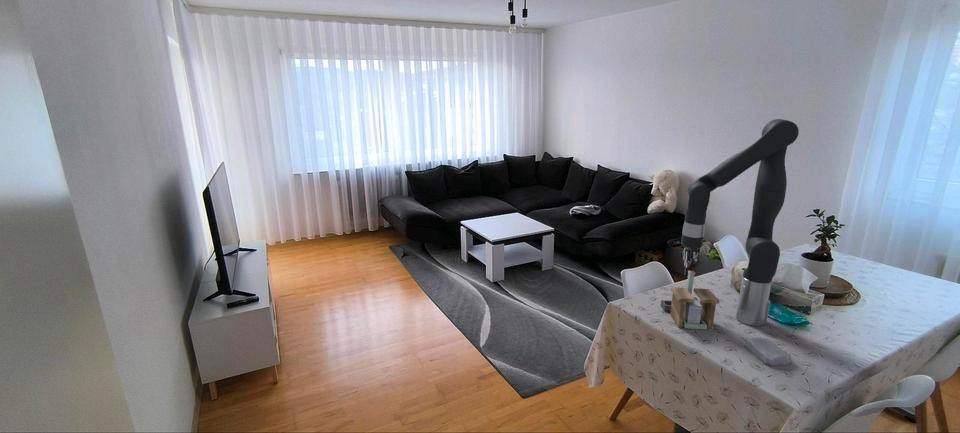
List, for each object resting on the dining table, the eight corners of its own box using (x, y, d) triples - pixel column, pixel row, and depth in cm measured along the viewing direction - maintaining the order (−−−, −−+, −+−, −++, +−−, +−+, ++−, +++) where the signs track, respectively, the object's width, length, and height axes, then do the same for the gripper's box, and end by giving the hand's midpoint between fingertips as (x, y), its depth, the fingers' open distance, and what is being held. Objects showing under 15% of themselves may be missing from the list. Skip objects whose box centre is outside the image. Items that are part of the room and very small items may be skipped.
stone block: (766, 349, 151) (740, 346, 149) (772, 338, 149) (746, 334, 148) (792, 371, 139) (765, 367, 138) (799, 359, 138) (771, 355, 137)
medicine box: (699, 327, 162) (702, 306, 159) (686, 326, 162) (689, 305, 160) (693, 317, 169) (696, 297, 167) (681, 316, 170) (684, 296, 168)
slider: (694, 313, 171) (701, 271, 167) (706, 329, 160) (713, 284, 155) (674, 312, 172) (680, 270, 167) (685, 328, 160) (691, 283, 156)
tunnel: (704, 316, 170) (708, 288, 167) (714, 329, 160) (719, 300, 157) (667, 314, 171) (670, 287, 168) (675, 327, 162) (679, 298, 159)
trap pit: (699, 307, 177) (699, 302, 176) (703, 313, 172) (704, 307, 171) (660, 305, 178) (661, 300, 178) (664, 311, 174) (664, 305, 173)
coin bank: (747, 278, 205) (753, 253, 200) (773, 298, 189) (780, 271, 184) (715, 280, 204) (720, 255, 199) (739, 300, 188) (745, 273, 183)
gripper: (710, 239, 159) (703, 283, 164) (697, 229, 172) (691, 270, 176) (688, 238, 160) (682, 282, 165) (677, 228, 173) (672, 269, 177)
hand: (687, 275), depth 170 cm, fingers closed
